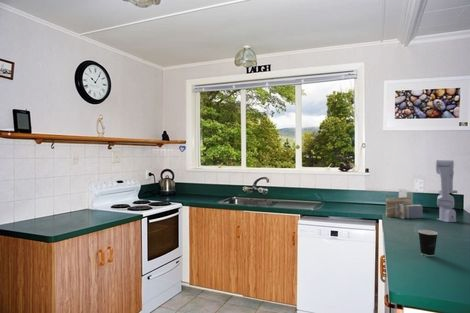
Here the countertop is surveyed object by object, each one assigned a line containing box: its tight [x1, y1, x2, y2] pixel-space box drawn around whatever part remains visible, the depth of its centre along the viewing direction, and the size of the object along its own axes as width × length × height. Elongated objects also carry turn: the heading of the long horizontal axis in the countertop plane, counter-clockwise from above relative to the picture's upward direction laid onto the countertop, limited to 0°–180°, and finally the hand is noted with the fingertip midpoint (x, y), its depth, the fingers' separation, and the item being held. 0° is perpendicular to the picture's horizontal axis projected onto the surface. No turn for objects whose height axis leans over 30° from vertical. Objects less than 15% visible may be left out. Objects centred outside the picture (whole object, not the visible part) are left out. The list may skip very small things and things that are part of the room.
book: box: [404, 204, 423, 219], centre depth 229 cm, size 4×12×9 cm, turn 101°
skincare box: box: [398, 188, 414, 205], centre depth 264 cm, size 21×6×16 cm, turn 168°
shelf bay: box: [385, 197, 411, 220], centre depth 229 cm, size 9×20×14 cm, turn 101°
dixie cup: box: [417, 229, 439, 256], centre depth 143 cm, size 8×8×11 cm
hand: (447, 203), depth 231 cm, fingers closed
